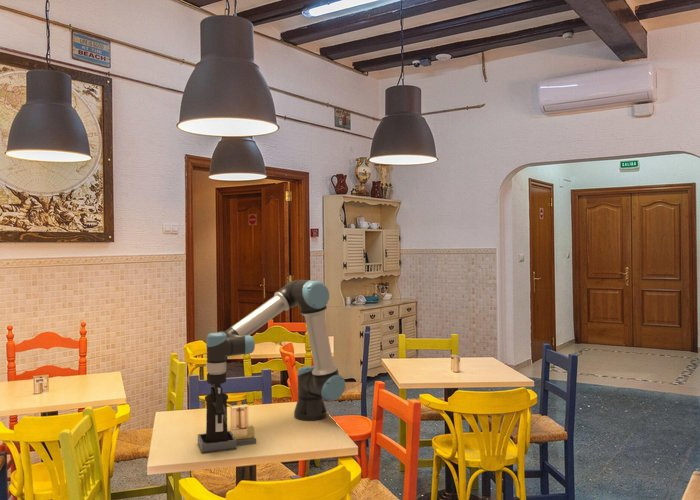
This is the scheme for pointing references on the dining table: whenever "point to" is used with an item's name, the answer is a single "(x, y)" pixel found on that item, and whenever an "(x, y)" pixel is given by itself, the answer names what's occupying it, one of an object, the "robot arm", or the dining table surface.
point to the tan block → (249, 434)
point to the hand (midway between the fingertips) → (216, 426)
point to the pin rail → (246, 441)
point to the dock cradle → (216, 444)
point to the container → (211, 420)
